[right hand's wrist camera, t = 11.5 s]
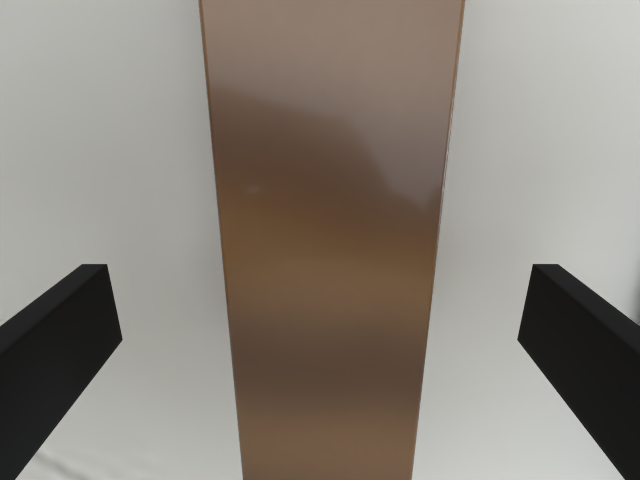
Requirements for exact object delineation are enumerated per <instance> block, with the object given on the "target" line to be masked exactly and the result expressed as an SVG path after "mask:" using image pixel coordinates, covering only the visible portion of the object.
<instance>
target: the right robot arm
mask: <svg viewBox="0 0 640 480" xmlns="http://www.w3.org/2000/svg"><path fill="white" fill-rule="evenodd" d="M122 340H123V339H122V334H121V330H120V325H119V320H118V315H117V310H116V305H115V300H114V296H113V291H112V286H111V281H110V276H109V271H108V267H107V264H82V265H80V266H79V267H78V268H76V269H75V270H74V271H73V272H71V273H70V274H69V275H67V276H66V277H65V278H63V279H62V280H61V281H59V282H58V283H57V284H55V285H54V286H53V287H51V288H50V289H49V290H48V291H46V292H45V293H44V294H42V295H41V296H40V297H38V298H37V299H36V300H34V301H33V302H32V303H30V304H29V305H28V306H26V307H25V308H24V309H23V310H21V311H20V312H19V313H17V314H16V315H15V316H13V317H12V318H11V319H9V320H8V321H7V322H5V323H4V324H3V325H1V326H0V480H15V479H16V478H17V476H18V475H19V474H20V473H21V471H22V470H23V469H24V467H25V466H26V465H27V463H28V462H29V461H30V460H31V458H32V457H33V456H34V454H35V453H36V452H37V450H38V449H39V448H40V447H41V445H42V444H43V443H44V441H45V440H46V439H47V437H48V436H49V435H50V434H51V432H52V431H53V430H54V428H55V427H56V426H57V424H58V423H59V422H60V421H61V419H62V418H63V417H64V415H65V414H66V413H67V411H68V410H69V409H70V408H71V406H72V405H73V404H74V402H75V401H76V400H77V398H78V397H79V396H80V395H81V393H82V392H83V391H84V389H85V388H86V387H87V385H88V384H89V383H90V382H91V380H92V379H93V378H94V376H95V375H96V374H97V372H98V371H99V370H100V369H101V367H102V366H103V365H104V363H105V362H106V361H107V359H108V358H109V357H110V356H111V354H112V353H113V352H114V350H115V349H116V348H117V346H118V345H119V344H120V343H121V341H122ZM517 340H518V341H519V343H520V344H521V345H522V346H523V348H524V349H525V350H526V352H527V353H528V354H529V356H530V357H531V358H532V359H533V361H534V362H535V363H536V365H537V366H538V367H539V369H540V370H541V371H542V372H543V374H544V375H545V376H546V378H547V379H548V380H549V382H550V383H551V384H552V385H553V387H554V388H555V389H556V391H557V392H558V393H559V395H560V396H561V397H562V398H563V400H564V401H565V402H566V404H567V405H568V406H569V408H570V409H571V410H572V411H573V413H574V414H575V415H576V417H577V418H578V419H579V421H580V422H581V423H582V424H583V426H584V427H585V428H586V430H587V431H588V432H589V434H590V435H591V436H592V437H593V439H594V440H595V441H596V443H597V444H598V445H599V447H600V448H601V449H602V450H603V452H604V453H605V454H606V456H607V457H608V458H609V460H610V461H611V462H612V463H613V465H614V466H615V467H616V469H617V470H618V471H619V473H620V474H621V475H622V476H623V478H624V479H625V480H640V326H639V325H637V324H636V323H635V322H633V321H632V320H631V319H629V318H628V317H627V316H625V315H624V314H623V313H621V312H620V311H619V310H617V309H616V308H615V307H614V306H612V305H611V304H610V303H608V302H607V301H606V300H604V299H603V298H602V297H600V296H599V295H598V294H596V293H595V292H594V291H592V290H591V289H590V288H589V287H587V286H586V285H585V284H583V283H582V282H581V281H579V280H578V279H577V278H575V277H574V276H573V275H571V274H570V273H569V272H567V271H566V270H565V269H564V268H562V267H561V266H560V265H558V264H533V267H532V271H531V276H530V281H529V286H528V291H527V296H526V300H525V305H524V310H523V315H522V320H521V325H520V330H519V334H518V339H517Z"/></svg>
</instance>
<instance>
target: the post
mask: <svg viewBox="0 0 640 480" xmlns="http://www.w3.org/2000/svg"><path fill="white" fill-rule="evenodd" d="M198 1H199V11H200V22H201V33H202V44H203V54H204V65H205V76H206V87H207V97H208V108H209V119H210V130H211V140H212V151H213V162H214V173H215V184H216V194H217V205H218V216H219V227H220V237H221V248H222V259H223V270H224V280H225V291H226V302H227V313H228V323H229V334H230V345H231V356H232V367H233V377H234V388H235V399H236V410H237V420H238V431H239V442H240V453H241V463H242V474H243V480H412V472H413V463H414V454H415V445H416V436H417V427H418V418H419V409H420V400H421V391H422V382H423V373H424V364H425V355H426V347H427V338H428V329H429V320H430V311H431V302H432V293H433V284H434V275H435V266H436V257H437V248H438V239H439V230H440V221H441V212H442V203H443V194H444V186H445V177H446V168H447V159H448V150H449V141H450V132H451V123H452V114H453V105H454V96H455V87H456V78H457V69H458V60H459V51H460V42H461V34H462V25H463V16H464V7H465V0H198Z"/></svg>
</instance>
